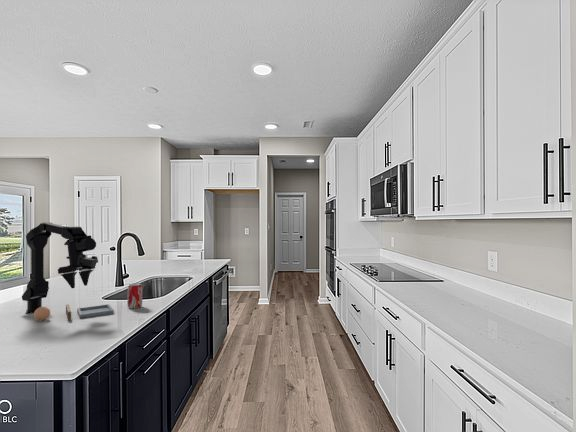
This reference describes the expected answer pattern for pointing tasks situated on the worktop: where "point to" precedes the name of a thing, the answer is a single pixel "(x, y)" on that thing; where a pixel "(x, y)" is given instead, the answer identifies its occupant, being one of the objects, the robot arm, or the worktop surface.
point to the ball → (41, 313)
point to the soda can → (134, 295)
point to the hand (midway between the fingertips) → (79, 286)
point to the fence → (68, 312)
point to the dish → (94, 311)
